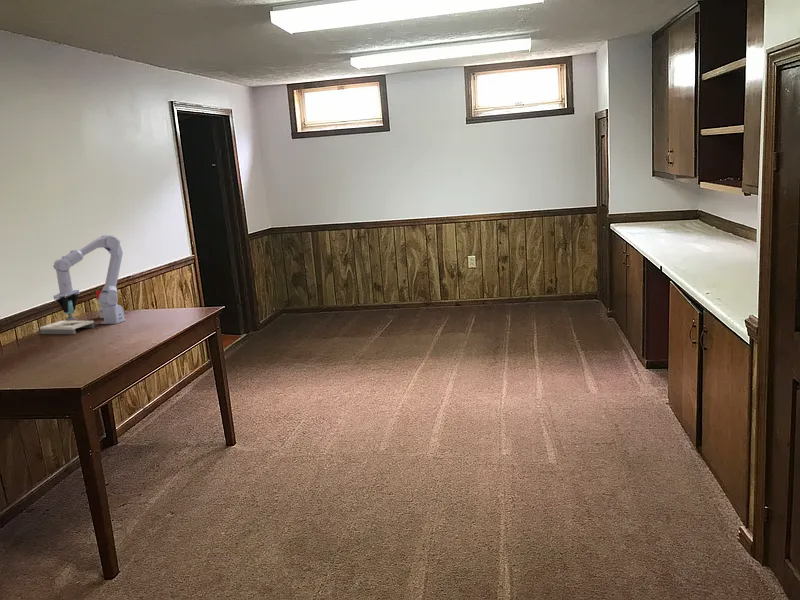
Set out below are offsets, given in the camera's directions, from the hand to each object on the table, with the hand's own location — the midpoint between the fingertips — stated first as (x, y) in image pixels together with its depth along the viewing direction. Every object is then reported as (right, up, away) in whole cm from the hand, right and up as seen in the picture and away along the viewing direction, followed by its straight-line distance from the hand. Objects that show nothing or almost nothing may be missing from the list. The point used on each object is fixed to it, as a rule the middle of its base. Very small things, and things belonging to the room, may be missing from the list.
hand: (69, 311), depth 333 cm
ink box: (+7, -4, +30) cm, 31 cm away
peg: (0, -4, +1) cm, 4 cm away
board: (-2, -9, +3) cm, 10 cm away
